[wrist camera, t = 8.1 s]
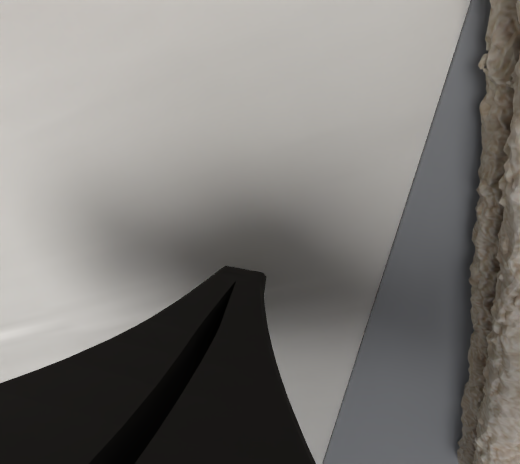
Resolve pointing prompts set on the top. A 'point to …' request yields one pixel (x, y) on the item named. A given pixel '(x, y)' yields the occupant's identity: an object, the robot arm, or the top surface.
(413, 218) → the placemat
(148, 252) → the top surface
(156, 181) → the top surface
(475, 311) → the washcloth
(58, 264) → the top surface
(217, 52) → the top surface
